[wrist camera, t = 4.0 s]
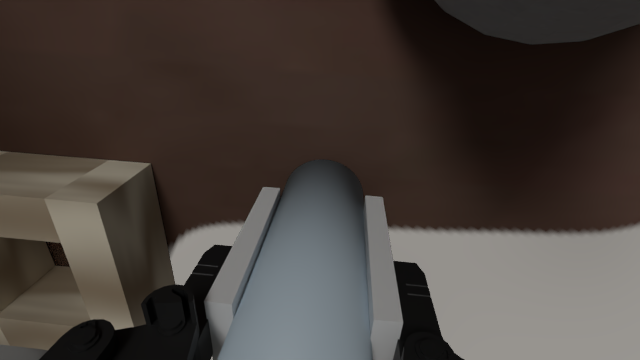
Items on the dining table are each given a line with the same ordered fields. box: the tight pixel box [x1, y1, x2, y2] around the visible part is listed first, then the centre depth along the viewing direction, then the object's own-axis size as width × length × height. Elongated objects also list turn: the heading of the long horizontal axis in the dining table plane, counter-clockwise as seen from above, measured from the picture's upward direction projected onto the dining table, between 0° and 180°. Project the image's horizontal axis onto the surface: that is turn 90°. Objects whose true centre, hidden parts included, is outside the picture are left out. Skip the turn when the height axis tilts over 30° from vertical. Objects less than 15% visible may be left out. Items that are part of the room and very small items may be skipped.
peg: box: [217, 160, 373, 360], centre depth 11 cm, size 4×4×12 cm
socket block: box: [0, 151, 175, 350], centre depth 18 cm, size 10×10×4 cm
